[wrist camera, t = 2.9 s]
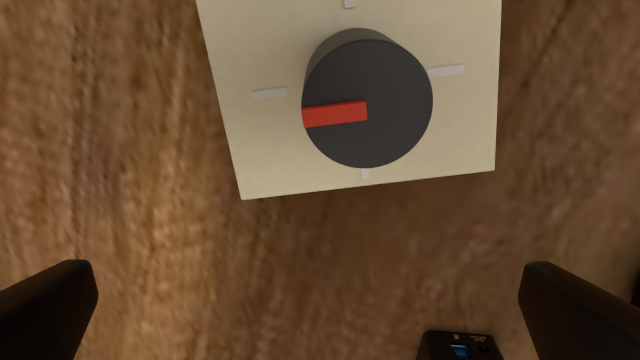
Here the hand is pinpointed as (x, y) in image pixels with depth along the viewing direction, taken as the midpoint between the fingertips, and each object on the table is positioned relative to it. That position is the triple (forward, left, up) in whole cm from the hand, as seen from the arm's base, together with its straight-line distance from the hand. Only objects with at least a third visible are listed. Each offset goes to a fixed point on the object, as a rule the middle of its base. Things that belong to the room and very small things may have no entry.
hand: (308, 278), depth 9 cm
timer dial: (-2, -2, -9) cm, 10 cm away
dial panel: (-2, -2, -12) cm, 13 cm away
